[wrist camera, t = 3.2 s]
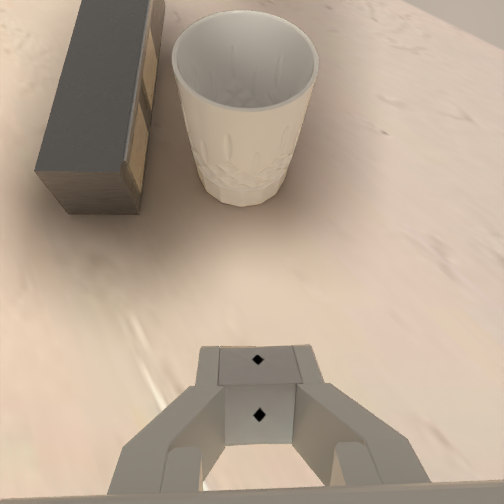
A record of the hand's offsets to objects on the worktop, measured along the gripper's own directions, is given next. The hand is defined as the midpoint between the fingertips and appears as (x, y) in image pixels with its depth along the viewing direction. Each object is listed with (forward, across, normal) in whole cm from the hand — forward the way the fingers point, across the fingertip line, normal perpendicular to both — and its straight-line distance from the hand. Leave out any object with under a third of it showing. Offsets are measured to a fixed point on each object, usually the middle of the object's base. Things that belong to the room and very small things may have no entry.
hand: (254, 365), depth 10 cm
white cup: (+21, 0, -2) cm, 21 cm away
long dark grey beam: (+26, +10, -8) cm, 29 cm away
